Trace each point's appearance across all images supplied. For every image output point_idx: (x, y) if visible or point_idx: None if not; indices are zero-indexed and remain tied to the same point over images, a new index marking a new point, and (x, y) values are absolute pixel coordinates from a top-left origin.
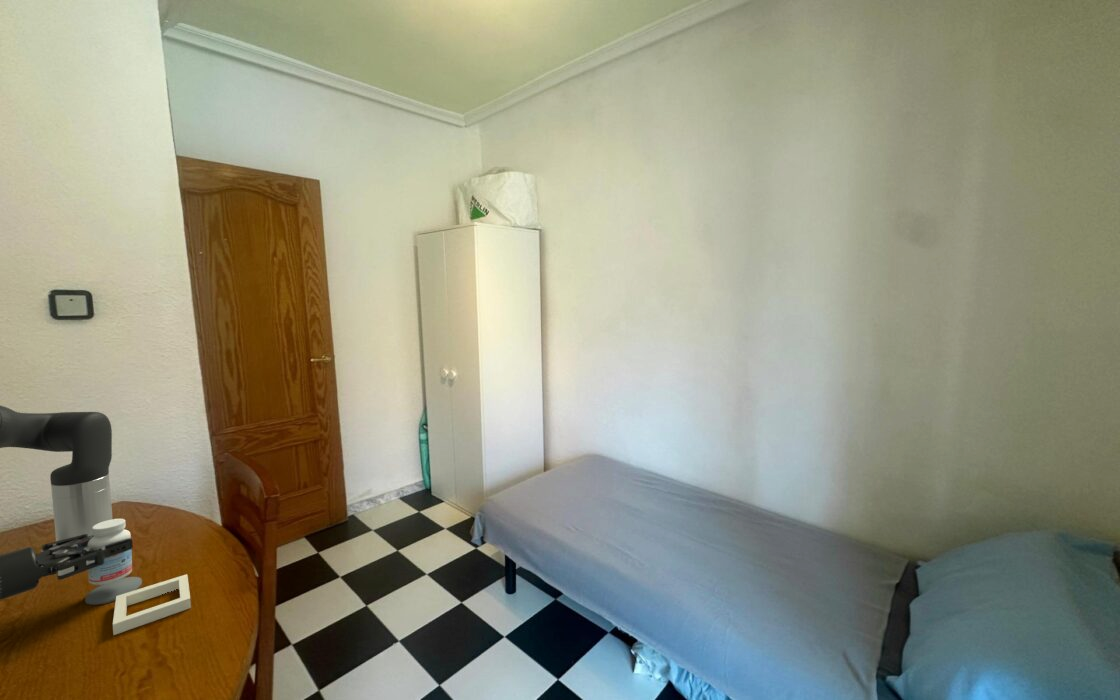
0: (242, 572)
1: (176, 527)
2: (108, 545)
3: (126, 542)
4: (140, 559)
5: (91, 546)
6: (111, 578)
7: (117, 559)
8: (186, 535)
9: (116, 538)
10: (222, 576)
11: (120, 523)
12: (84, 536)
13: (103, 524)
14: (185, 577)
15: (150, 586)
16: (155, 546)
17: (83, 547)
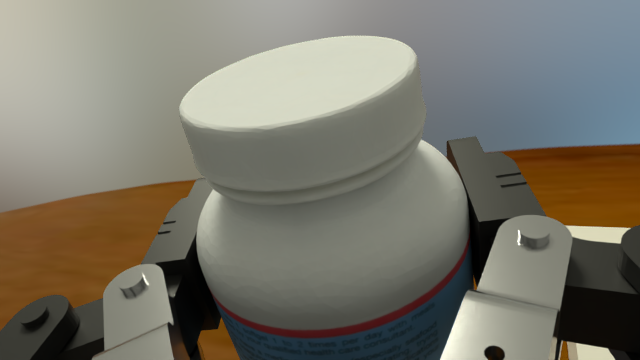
0: (601, 158)
1: (50, 237)
2: (501, 208)
3: (490, 159)
4: None
5: (393, 290)
6: None
7: None
8: (144, 225)
9: (439, 157)
10: (587, 191)
11: (381, 39)
12: (69, 312)
13: (265, 94)
14: (591, 231)
15: None
16: None
17: (467, 313)
